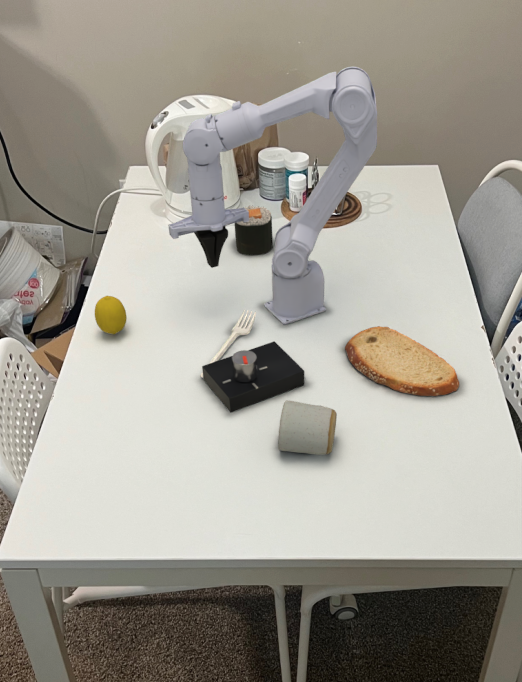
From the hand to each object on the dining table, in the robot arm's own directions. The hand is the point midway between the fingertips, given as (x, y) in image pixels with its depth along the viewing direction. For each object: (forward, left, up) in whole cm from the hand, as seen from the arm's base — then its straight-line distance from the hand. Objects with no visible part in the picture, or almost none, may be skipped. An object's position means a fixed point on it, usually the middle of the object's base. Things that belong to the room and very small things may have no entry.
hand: (212, 264), depth 137 cm
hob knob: (+7, +25, -6) cm, 27 cm away
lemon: (+20, -2, -10) cm, 22 cm away
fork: (+4, +13, -10) cm, 16 cm away
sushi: (-18, -18, -10) cm, 27 cm away
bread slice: (-19, +33, -10) cm, 39 cm away
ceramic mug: (+5, +41, -10) cm, 42 cm away
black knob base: (+5, +24, -9) cm, 26 cm away
